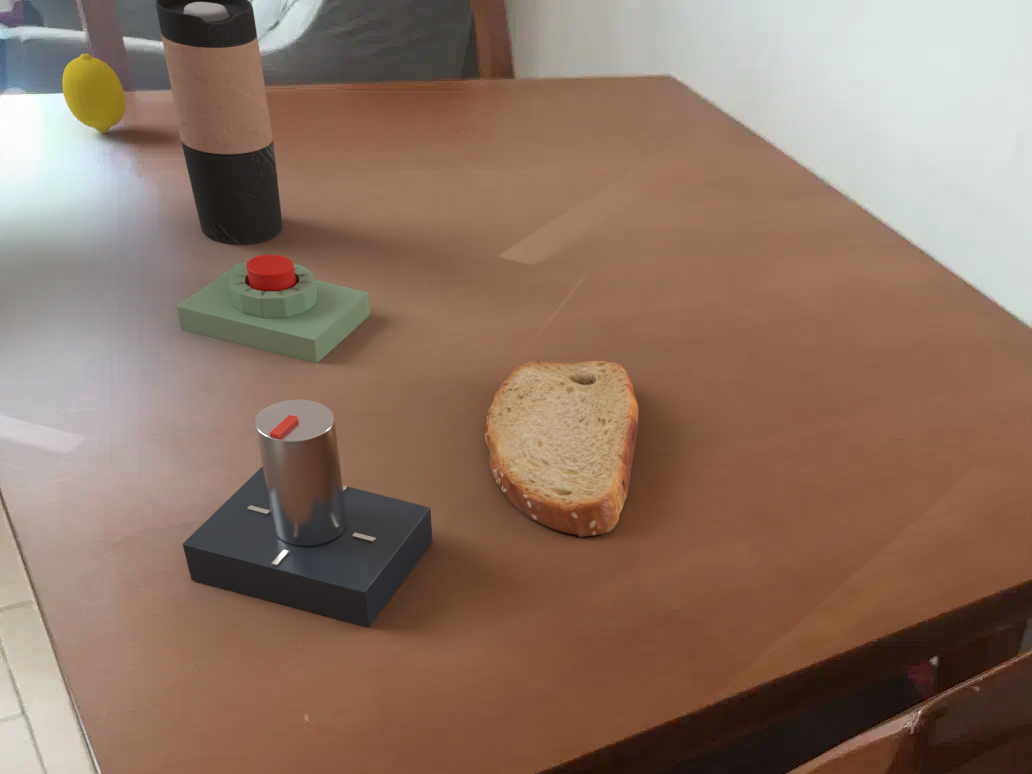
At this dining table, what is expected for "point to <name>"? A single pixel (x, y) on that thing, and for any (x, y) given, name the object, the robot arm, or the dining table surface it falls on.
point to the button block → (276, 314)
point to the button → (271, 273)
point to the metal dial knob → (302, 471)
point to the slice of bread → (565, 443)
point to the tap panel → (312, 554)
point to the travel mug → (223, 117)
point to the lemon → (93, 93)
